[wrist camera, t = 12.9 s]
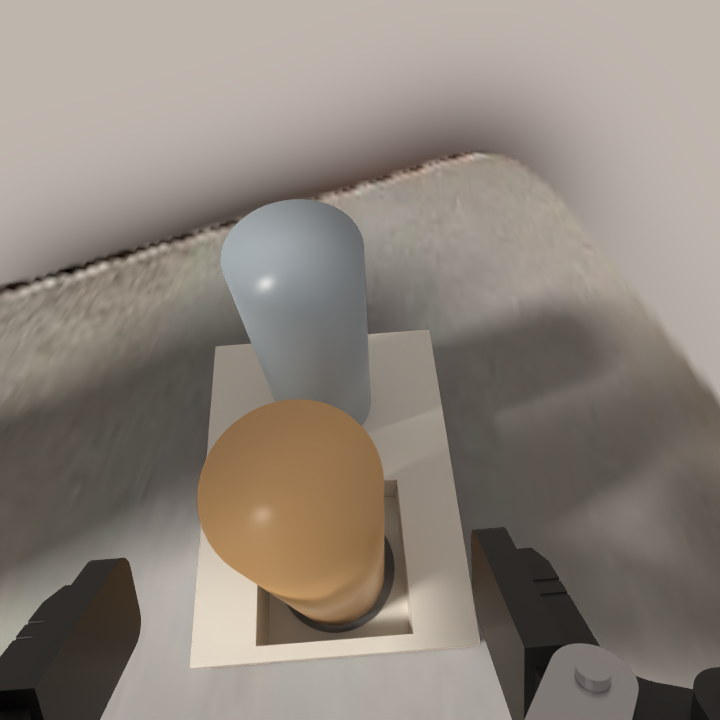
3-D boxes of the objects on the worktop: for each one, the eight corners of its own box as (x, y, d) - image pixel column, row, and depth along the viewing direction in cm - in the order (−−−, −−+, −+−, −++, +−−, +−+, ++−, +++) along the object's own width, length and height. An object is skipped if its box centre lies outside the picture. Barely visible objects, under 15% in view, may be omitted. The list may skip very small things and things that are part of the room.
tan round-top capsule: (272, 608, 21) (164, 551, 11) (305, 510, 23) (240, 382, 13) (369, 639, 20) (353, 610, 10) (394, 536, 22) (403, 422, 12)
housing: (468, 647, 21) (562, 624, 10) (214, 668, 21) (27, 668, 10) (425, 361, 27) (452, 158, 16) (231, 377, 27) (130, 183, 16)
